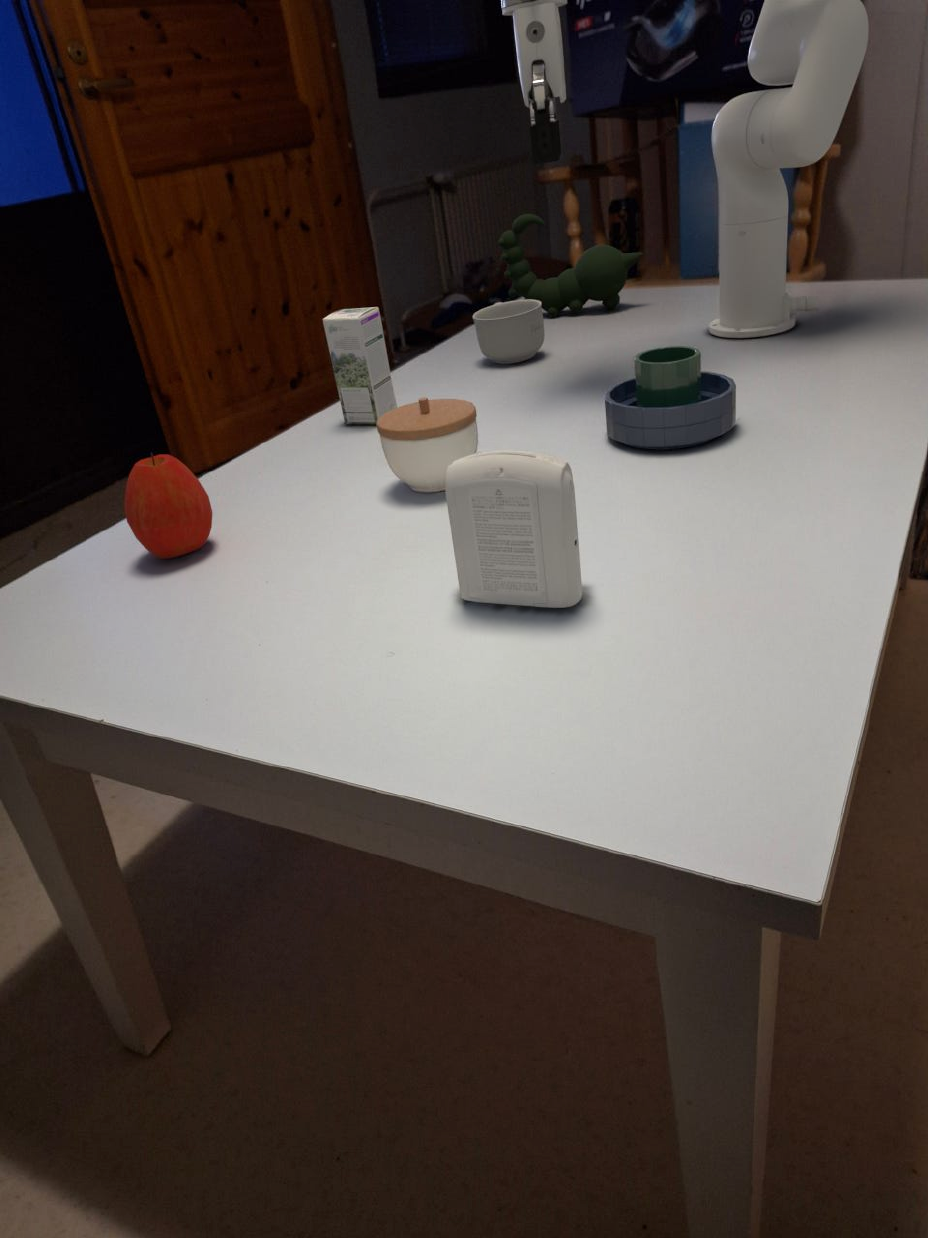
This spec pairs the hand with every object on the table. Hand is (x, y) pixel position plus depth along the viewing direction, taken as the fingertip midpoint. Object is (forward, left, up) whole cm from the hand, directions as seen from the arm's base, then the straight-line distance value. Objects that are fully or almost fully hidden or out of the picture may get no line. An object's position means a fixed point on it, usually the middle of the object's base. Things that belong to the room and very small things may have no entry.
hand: (547, 159), depth 111 cm
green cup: (-12, +24, -28) cm, 38 cm away
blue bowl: (-12, +24, -28) cm, 39 cm away
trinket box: (+14, +33, -28) cm, 46 cm away
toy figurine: (-1, -48, -28) cm, 56 cm away
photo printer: (+3, +61, -28) cm, 67 cm away
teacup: (+9, -20, -28) cm, 36 cm away
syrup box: (+27, +6, -28) cm, 40 cm away
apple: (+39, +46, -28) cm, 67 cm away
